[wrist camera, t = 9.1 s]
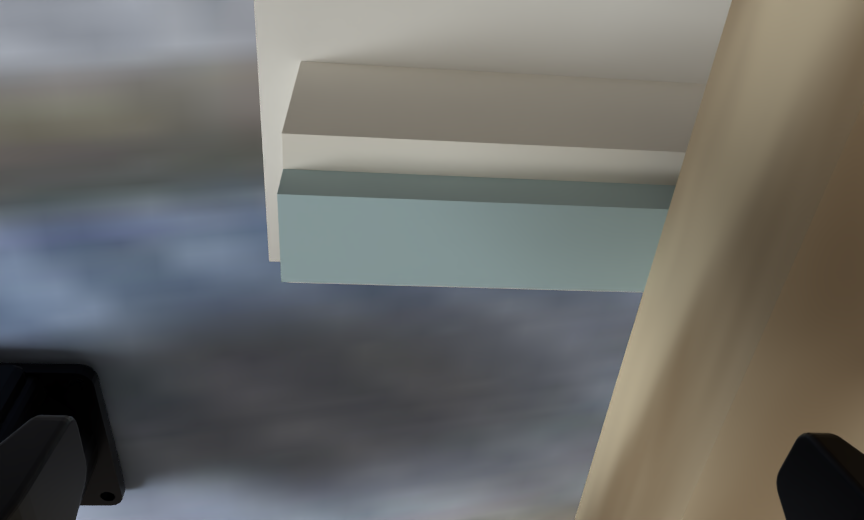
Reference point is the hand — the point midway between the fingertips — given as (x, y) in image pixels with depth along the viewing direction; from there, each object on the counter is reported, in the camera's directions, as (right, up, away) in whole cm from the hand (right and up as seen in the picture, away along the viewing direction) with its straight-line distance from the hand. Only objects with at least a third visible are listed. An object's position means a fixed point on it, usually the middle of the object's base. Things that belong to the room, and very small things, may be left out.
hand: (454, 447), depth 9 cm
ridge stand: (+5, +6, +11) cm, 13 cm away
